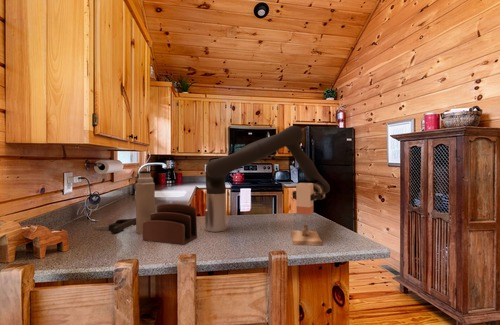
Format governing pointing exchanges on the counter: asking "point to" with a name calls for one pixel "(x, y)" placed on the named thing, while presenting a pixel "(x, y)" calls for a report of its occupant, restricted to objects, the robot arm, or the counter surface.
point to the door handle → (118, 225)
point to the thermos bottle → (144, 199)
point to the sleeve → (304, 198)
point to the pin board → (305, 237)
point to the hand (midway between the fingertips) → (303, 197)
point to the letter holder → (171, 224)
